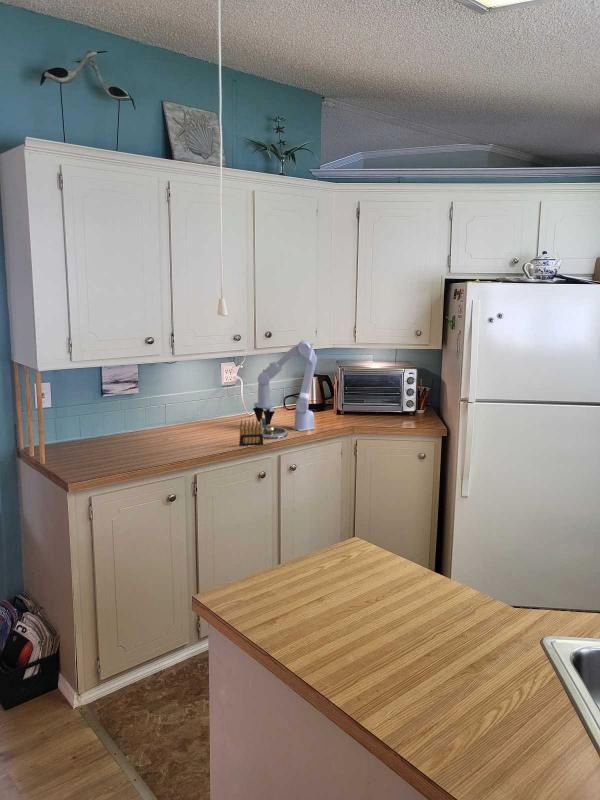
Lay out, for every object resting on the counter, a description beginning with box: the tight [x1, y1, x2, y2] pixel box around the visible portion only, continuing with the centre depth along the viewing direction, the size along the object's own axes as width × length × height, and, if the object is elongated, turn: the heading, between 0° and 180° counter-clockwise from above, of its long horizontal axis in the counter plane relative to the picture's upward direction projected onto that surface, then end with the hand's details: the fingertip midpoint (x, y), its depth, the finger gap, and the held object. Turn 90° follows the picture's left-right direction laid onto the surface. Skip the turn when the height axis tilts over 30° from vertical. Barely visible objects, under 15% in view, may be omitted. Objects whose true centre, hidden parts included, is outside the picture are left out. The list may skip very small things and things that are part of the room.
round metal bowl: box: [262, 426, 289, 440], centre depth 315 cm, size 17×17×4 cm
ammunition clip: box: [238, 418, 264, 447], centre depth 295 cm, size 11×2×12 cm, turn 106°
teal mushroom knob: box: [261, 417, 269, 427], centre depth 328 cm, size 4×4×5 cm
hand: (263, 423), depth 328 cm, fingers open, 7 cm apart
